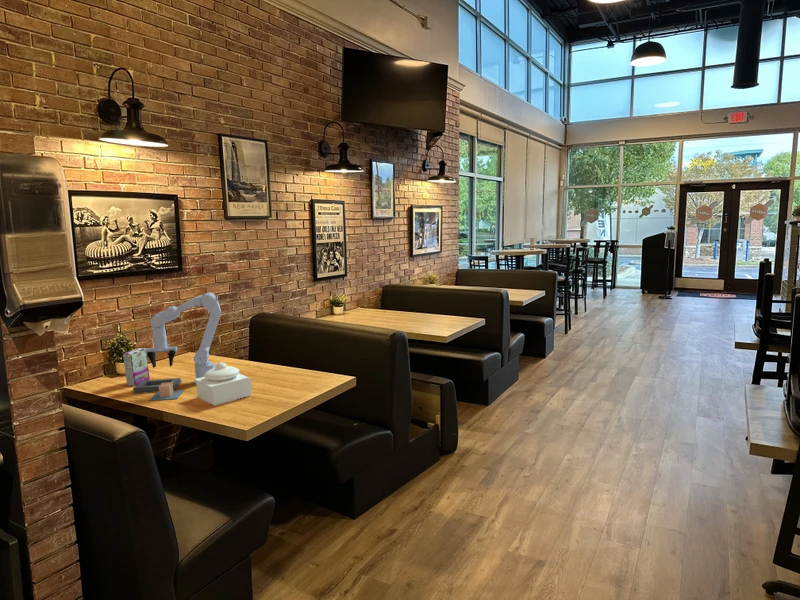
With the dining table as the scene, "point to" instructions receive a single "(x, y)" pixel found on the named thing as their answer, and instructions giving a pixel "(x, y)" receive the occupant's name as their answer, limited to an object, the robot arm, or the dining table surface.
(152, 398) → the rubber mat
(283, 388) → the dining table surface
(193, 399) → the dining table surface
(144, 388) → the dark grey tray
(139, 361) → the candy bar box
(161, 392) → the coral block
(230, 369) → the white domed box
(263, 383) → the dining table surface
